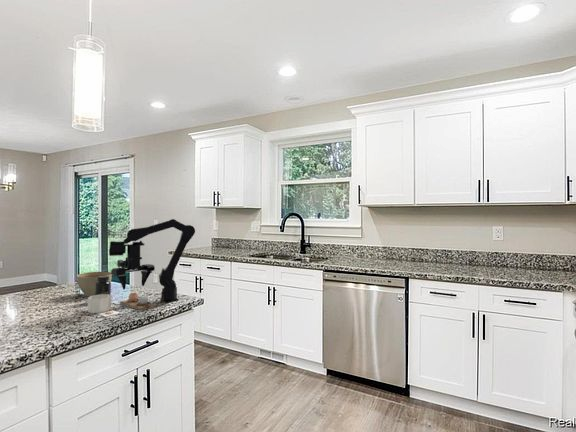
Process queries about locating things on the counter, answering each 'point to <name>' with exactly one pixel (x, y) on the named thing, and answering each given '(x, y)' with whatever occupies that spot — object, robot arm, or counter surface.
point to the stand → (138, 304)
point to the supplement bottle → (103, 286)
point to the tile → (109, 313)
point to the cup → (99, 303)
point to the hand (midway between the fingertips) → (133, 287)
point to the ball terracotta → (133, 297)
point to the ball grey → (143, 300)
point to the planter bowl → (90, 281)
